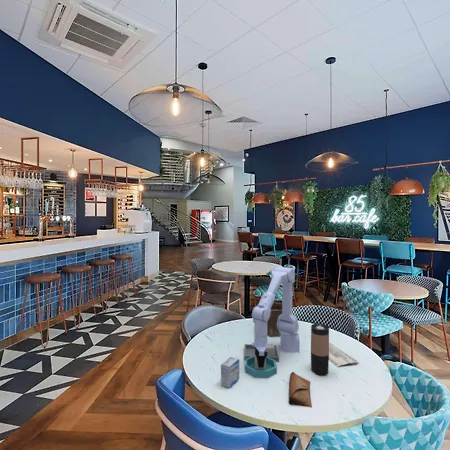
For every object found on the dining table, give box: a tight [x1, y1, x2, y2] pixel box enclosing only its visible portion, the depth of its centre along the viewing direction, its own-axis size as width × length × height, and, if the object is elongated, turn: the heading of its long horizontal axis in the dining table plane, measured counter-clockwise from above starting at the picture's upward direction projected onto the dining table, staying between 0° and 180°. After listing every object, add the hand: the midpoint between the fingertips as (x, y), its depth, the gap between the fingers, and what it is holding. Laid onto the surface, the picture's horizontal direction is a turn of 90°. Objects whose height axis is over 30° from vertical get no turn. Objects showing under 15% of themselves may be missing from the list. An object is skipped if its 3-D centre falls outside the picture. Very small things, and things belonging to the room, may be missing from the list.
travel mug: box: [310, 323, 330, 377], centre depth 126 cm, size 8×8×20 cm
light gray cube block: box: [265, 343, 275, 357], centre depth 140 cm, size 4×4×4 cm
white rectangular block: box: [255, 355, 266, 370], centre depth 126 cm, size 5×4×5 cm
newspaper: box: [329, 342, 360, 368], centre depth 142 cm, size 23×12×2 cm, turn 13°
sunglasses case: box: [288, 371, 313, 408], centre depth 111 cm, size 18×7×7 cm
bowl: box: [244, 356, 278, 379], centre depth 126 cm, size 14×14×3 cm
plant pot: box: [267, 302, 282, 338], centre depth 169 cm, size 16×16×16 cm
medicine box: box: [220, 356, 240, 389], centre depth 117 cm, size 8×4×9 cm, turn 148°
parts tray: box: [244, 343, 280, 363], centre depth 140 cm, size 16×13×2 cm
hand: (260, 364), depth 126 cm, fingers closed on white rectangular block, 4 cm apart
